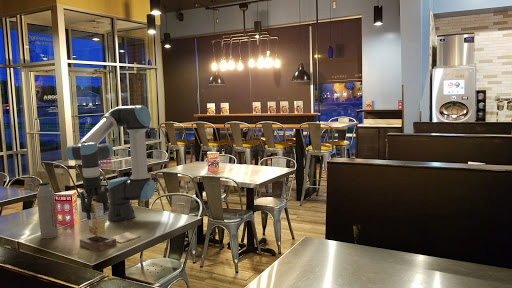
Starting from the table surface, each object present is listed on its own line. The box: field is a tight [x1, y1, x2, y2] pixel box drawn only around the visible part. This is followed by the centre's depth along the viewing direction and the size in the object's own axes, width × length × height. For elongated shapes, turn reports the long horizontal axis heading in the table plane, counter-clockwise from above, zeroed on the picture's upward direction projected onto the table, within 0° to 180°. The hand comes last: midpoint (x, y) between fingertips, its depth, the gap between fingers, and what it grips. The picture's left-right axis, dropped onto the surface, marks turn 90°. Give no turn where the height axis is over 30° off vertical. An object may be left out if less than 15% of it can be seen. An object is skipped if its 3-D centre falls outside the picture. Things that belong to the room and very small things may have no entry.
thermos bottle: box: [36, 181, 59, 239], centre depth 217 cm, size 8×8×28 cm
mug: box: [92, 190, 110, 210], centre depth 270 cm, size 12×14×15 cm
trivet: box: [110, 231, 141, 244], centre depth 209 cm, size 11×11×1 cm
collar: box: [79, 234, 117, 253], centre depth 200 cm, size 10×15×3 cm, turn 51°
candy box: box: [86, 201, 106, 237], centre depth 199 cm, size 9×4×15 cm, turn 50°
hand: (96, 224), depth 199 cm, fingers closed on candy box, 4 cm apart
